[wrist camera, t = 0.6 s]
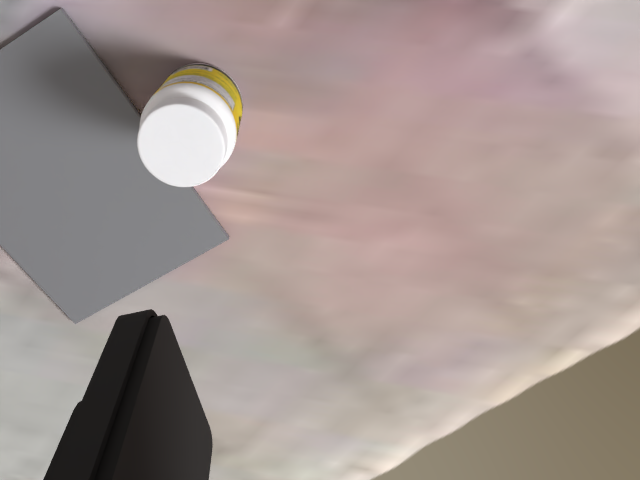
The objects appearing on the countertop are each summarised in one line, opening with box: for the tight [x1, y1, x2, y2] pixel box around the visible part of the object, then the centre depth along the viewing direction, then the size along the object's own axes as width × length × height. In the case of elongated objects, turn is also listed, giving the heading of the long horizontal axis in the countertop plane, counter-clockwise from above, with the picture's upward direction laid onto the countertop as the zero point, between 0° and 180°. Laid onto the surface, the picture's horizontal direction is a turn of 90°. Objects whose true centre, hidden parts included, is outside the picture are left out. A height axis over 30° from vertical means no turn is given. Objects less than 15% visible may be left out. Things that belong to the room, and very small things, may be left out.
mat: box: [0, 8, 229, 324], centre depth 36 cm, size 12×16×1 cm
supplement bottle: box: [137, 63, 243, 187], centre depth 30 cm, size 5×5×8 cm
